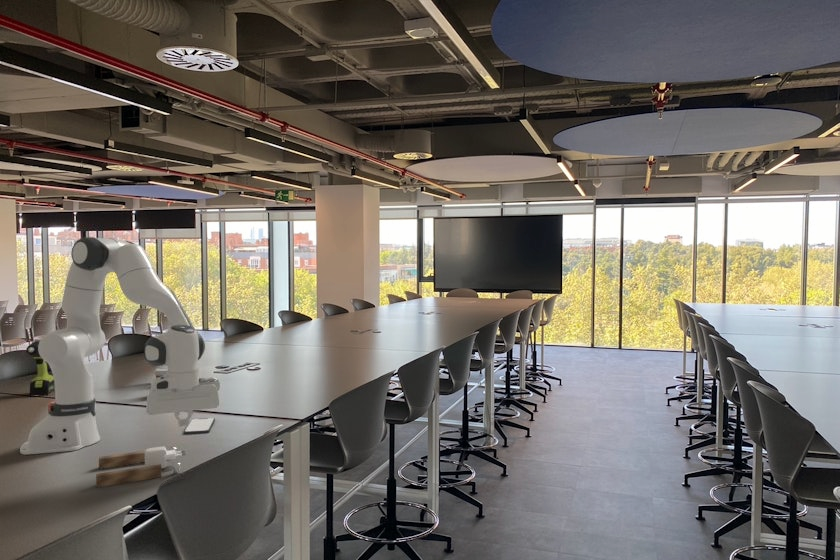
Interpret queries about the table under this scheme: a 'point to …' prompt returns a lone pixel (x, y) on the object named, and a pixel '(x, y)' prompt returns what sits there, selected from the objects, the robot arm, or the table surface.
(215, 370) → the table surface
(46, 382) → the cordless drill
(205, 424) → the smartphone
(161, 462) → the power adapter
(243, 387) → the table surface
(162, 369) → the disposable coffee cup
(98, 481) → the walnut slot
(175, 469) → the steel pins
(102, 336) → the robot arm
